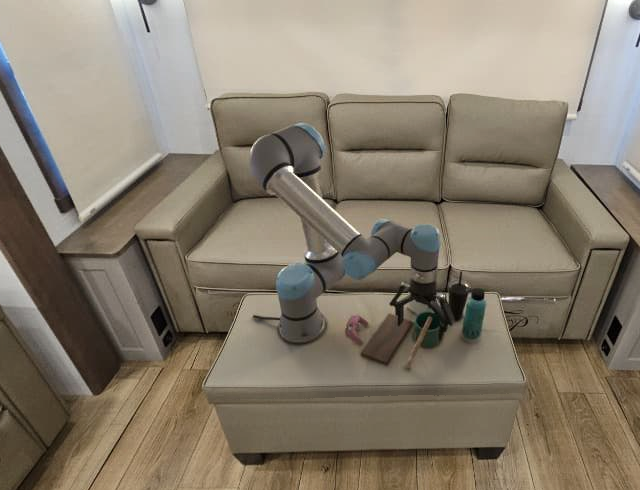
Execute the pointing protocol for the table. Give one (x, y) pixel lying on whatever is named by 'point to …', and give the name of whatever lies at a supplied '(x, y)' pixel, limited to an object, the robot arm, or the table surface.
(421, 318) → the coffee cup
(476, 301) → the beverage bottle
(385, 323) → the board
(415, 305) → the photo printer
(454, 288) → the drinking cup
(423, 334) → the stirrer
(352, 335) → the video game controller
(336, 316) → the table surface
